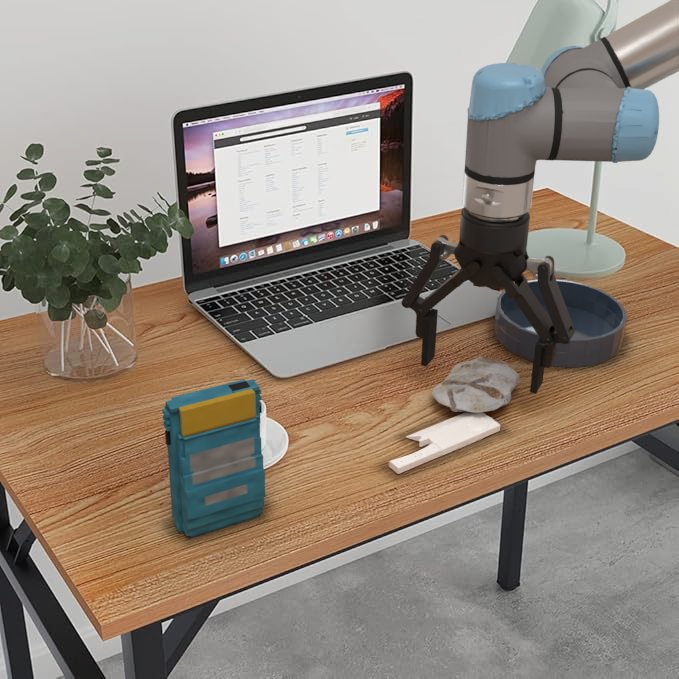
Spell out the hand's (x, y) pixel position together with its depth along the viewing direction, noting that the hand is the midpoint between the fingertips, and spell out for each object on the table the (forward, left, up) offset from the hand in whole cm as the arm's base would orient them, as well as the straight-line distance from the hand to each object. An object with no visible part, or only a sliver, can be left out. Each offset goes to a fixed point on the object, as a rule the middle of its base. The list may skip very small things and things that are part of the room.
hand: (481, 374), depth 127 cm
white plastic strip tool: (+1, +10, -4) cm, 11 cm away
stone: (0, 0, -4) cm, 4 cm away
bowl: (-4, -20, -4) cm, 21 cm away
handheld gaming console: (+16, +33, -4) cm, 37 cm away
